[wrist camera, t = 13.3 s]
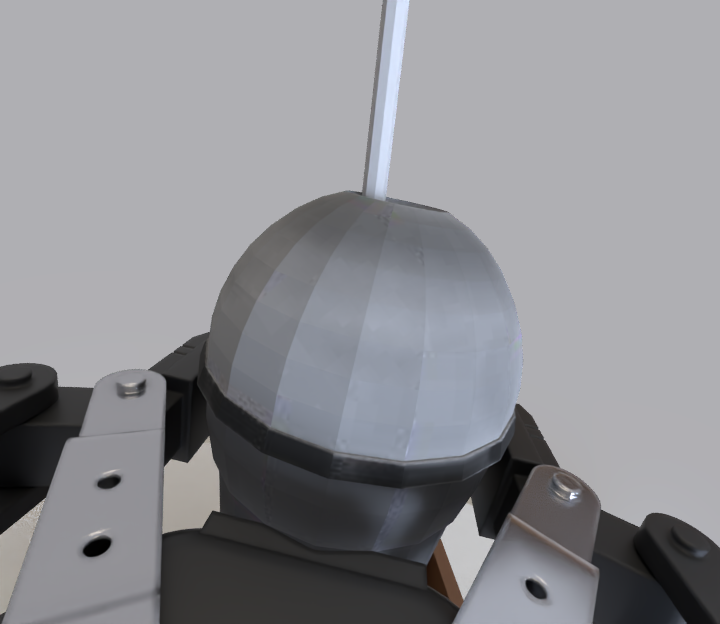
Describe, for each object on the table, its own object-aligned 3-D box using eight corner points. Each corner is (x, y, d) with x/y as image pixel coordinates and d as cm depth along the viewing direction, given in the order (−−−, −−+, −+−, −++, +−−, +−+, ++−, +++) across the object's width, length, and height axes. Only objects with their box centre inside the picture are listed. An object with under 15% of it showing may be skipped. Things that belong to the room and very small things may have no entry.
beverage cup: (261, 953, 8) (802, -877, 2) (139, 647, 13) (141, -164, 6) (440, 676, 13) (734, -1, 7) (310, 529, 18) (412, 31, 11)
